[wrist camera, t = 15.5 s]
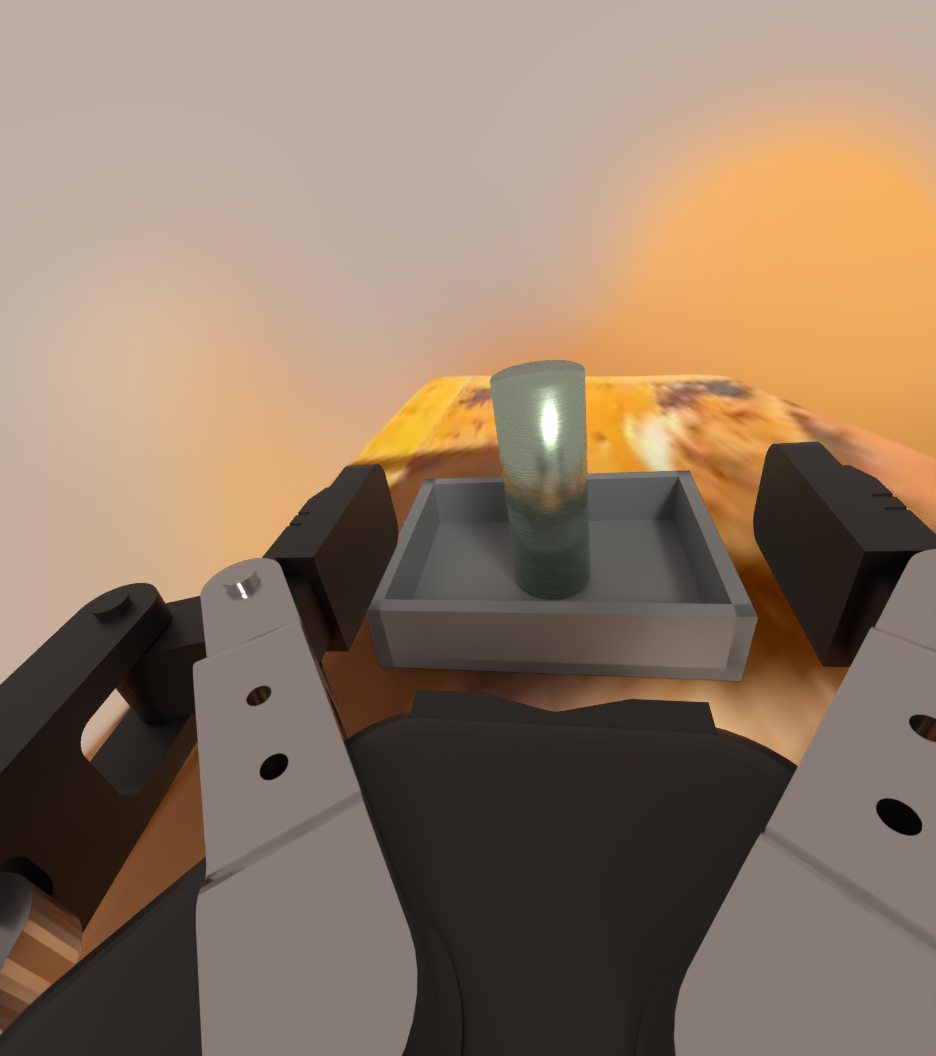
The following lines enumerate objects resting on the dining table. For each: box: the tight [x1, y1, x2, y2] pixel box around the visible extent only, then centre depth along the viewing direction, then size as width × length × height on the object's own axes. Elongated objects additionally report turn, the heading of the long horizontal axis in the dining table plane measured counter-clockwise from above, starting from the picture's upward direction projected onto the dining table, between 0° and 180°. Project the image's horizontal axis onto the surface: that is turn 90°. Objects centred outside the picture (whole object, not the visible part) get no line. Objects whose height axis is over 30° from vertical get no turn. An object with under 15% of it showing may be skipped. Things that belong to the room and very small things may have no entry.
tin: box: [490, 360, 591, 599], centre depth 27 cm, size 4×4×12 cm
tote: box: [365, 470, 758, 681], centre depth 29 cm, size 18×14×4 cm
